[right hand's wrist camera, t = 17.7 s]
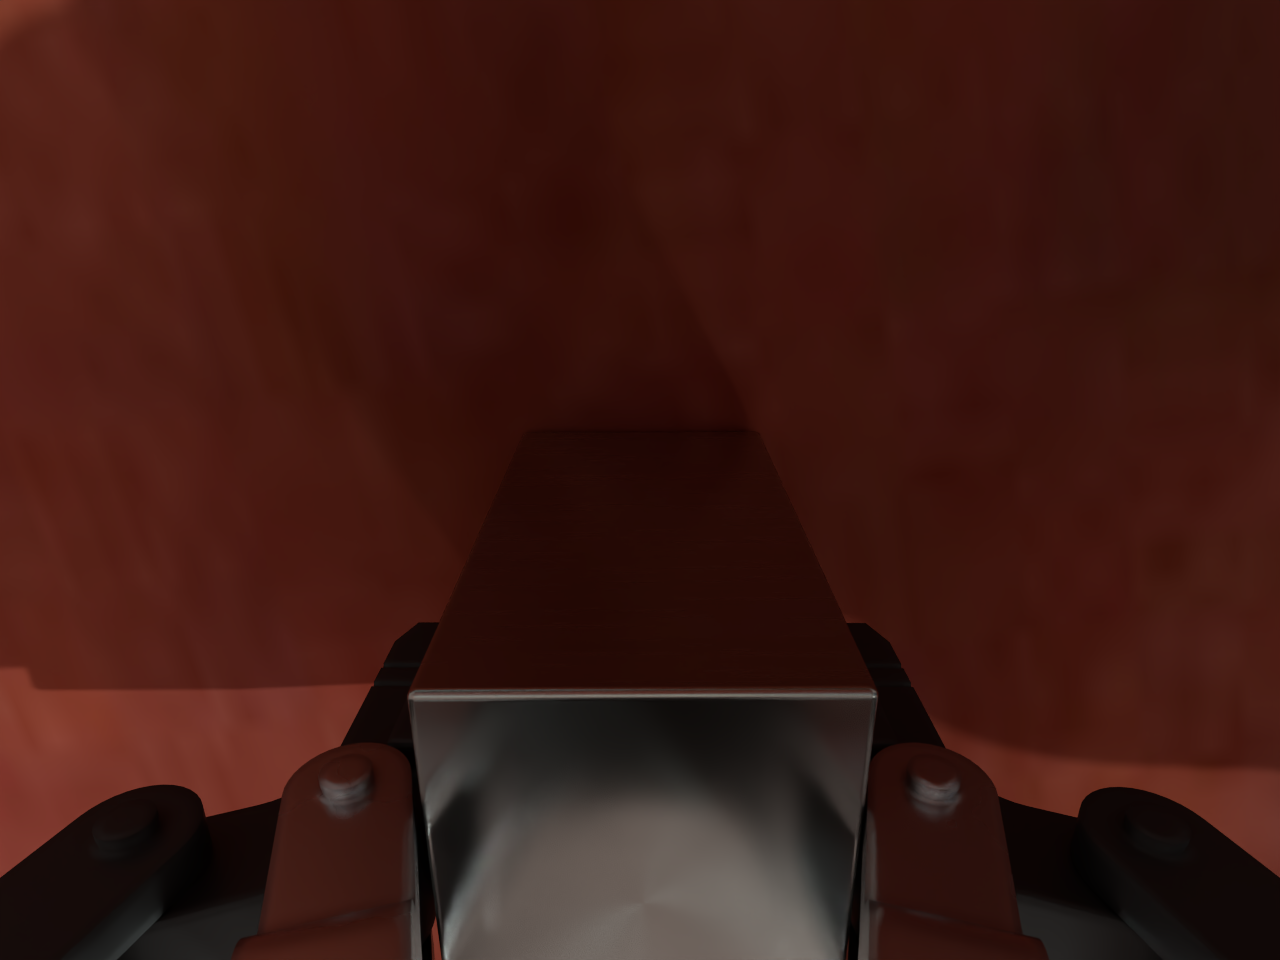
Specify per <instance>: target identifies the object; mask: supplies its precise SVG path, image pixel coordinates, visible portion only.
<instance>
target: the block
mask: <svg viewBox="0 0 1280 960" xmlns="http://www.w3.org/2000/svg"><path fill="white" fill-rule="evenodd" d="M407 700H408V707H409V715H410V723H411V730H412V738H413V745H414V753H415V760H416V768H417V776H418V783H419V791H420V798H421V806H422V814H423V821H424V829H425V836H426V844H427V851H428V859H429V867H430V874H431V882H432V889H433V897H434V905H435V912H436V920H437V927H438V935H439V943H440V950H441V958H442V960H846V955H847V947H848V939H849V931H850V922H851V914H852V906H853V898H854V890H855V882H856V873H857V865H858V857H859V849H860V841H861V833H862V824H863V816H864V808H865V800H866V792H867V784H868V775H869V767H870V759H871V751H872V743H873V734H874V726H875V718H876V710H877V702H878V691H877V688H876V686H875V684H874V682H873V679H872V677H871V675H870V673H869V671H868V669H867V666H866V664H865V662H864V660H863V658H862V656H861V653H860V651H859V649H858V647H857V645H856V643H855V640H854V638H853V636H852V634H851V632H850V630H849V627H848V625H847V623H846V621H845V619H844V617H843V614H842V612H841V610H840V608H839V606H838V604H837V601H836V599H835V597H834V595H833V593H832V591H831V588H830V586H829V584H828V582H827V580H826V578H825V575H824V573H823V571H822V569H821V567H820V565H819V562H818V560H817V558H816V556H815V554H814V552H813V550H812V547H811V545H810V543H809V541H808V539H807V537H806V534H805V532H804V530H803V528H802V526H801V524H800V521H799V519H798V517H797V515H796V513H795V511H794V508H793V506H792V504H791V502H790V500H789V498H788V495H787V493H786V491H785V489H784V487H783V485H782V482H781V480H780V478H779V476H778V474H777V472H776V469H775V467H774V465H773V463H772V461H771V459H770V456H769V454H768V452H767V450H766V448H765V446H764V443H763V441H762V439H761V437H760V435H759V433H757V432H582V433H525V434H523V436H522V439H521V441H520V443H519V445H518V447H517V450H516V452H515V454H514V456H513V459H512V461H511V463H510V465H509V468H508V470H507V472H506V474H505V477H504V479H503V481H502V483H501V486H500V488H499V490H498V492H497V494H496V497H495V499H494V501H493V503H492V506H491V508H490V510H489V512H488V515H487V517H486V519H485V521H484V524H483V526H482V528H481V530H480V532H479V535H478V537H477V539H476V541H475V544H474V546H473V548H472V550H471V553H470V555H469V557H468V559H467V562H466V564H465V566H464V568H463V570H462V573H461V575H460V577H459V579H458V582H457V584H456V586H455V588H454V591H453V593H452V595H451V597H450V600H449V602H448V604H447V606H446V608H445V611H444V613H443V615H442V617H441V620H440V622H439V624H438V626H437V629H436V631H435V633H434V635H433V638H432V640H431V642H430V644H429V647H428V649H427V651H426V653H425V655H424V658H423V660H422V662H421V664H420V667H419V669H418V671H417V673H416V676H415V678H414V680H413V682H412V685H411V687H410V689H409V692H408V694H407Z"/></svg>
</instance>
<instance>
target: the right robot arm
mask: <svg viewBox="0 0 1280 960" xmlns="http://www.w3.org/2000/svg"><path fill="white" fill-rule="evenodd" d="M438 624H439V623H418V624H416V625H415V626H414V627H413V628H411V629H410V630H409V631H408V632H406V633H405V634H404V635H403V636H401V637H400V638H399V639H398V640H396V641H395V643H394V645H393V647H392V648H391V650H390V652H389V654H388V656H387V658H386V660H385V662H384V667H383V668H381V670H380V671H379V673H378V675H377V677H376V679H375V681H374V686H372V687H371V689H370V691H369V693H368V694H367V696H366V698H365V700H364V702H363V704H362V706H361V708H360V710H359V712H358V714H357V716H356V717H355V719H354V721H353V723H352V725H351V727H350V729H349V731H348V733H347V735H346V737H345V739H344V740H343V742H342V744H341V746H340V747H337V748H334V749H331V750H328V751H326V752H324V753H322V754H320V755H318V756H316V757H314V758H313V759H311V760H309V761H308V762H307V763H305V764H304V765H303V766H301V767H300V768H299V769H298V770H297V771H296V772H295V773H294V774H293V775H292V777H291V778H290V779H289V780H288V782H287V784H286V786H285V788H284V791H283V794H282V798H279V799H277V800H274V801H271V802H268V803H264V804H261V805H257V806H252V807H248V808H244V809H240V810H235V811H231V812H227V813H222V814H218V815H214V816H209V817H206V816H205V812H204V808H203V805H202V802H201V799H200V798H199V797H198V795H197V794H196V793H194V792H193V791H192V790H190V789H187V788H185V787H181V786H176V785H154V786H147V787H142V788H138V789H134V790H131V791H127V792H125V793H122V794H119V795H117V796H114V797H112V798H110V799H108V800H106V801H104V802H102V803H100V804H98V805H96V806H95V807H93V808H91V809H90V810H88V811H87V812H85V813H84V814H82V815H81V816H80V817H78V818H77V819H76V820H74V821H73V822H72V823H71V824H69V825H68V826H67V827H65V828H64V829H63V830H61V831H60V832H59V833H58V834H56V835H55V836H54V837H52V838H51V839H50V840H49V841H47V842H46V843H45V844H43V845H42V846H41V847H39V848H38V849H37V850H36V851H34V852H33V853H32V854H30V855H29V856H28V857H27V858H25V859H24V860H23V861H21V862H20V863H19V864H17V865H16V866H15V867H14V868H12V869H11V870H10V871H8V872H7V873H6V874H5V875H3V876H2V877H1V878H0V960H434V943H433V935H432V927H433V924H434V921H435V917H436V912H435V905H434V897H433V889H432V882H431V874H430V867H429V859H428V851H427V844H426V836H425V829H424V821H423V814H422V806H421V798H420V791H419V783H418V776H417V768H416V760H415V753H414V745H413V738H412V730H411V723H410V715H409V707H408V700H407V694H408V692H409V689H410V687H411V685H412V682H413V680H414V678H415V676H416V673H417V671H418V669H419V667H420V664H421V662H422V660H423V658H424V655H425V653H426V651H427V649H428V647H429V644H430V642H431V640H432V638H433V635H434V633H435V631H436V629H437V626H438ZM847 625H848V627H849V630H850V632H851V634H852V636H853V638H854V640H855V643H856V645H857V647H858V649H859V651H860V653H861V656H862V658H863V660H864V662H865V664H866V666H867V669H868V671H869V673H870V675H871V677H872V679H873V682H874V684H875V686H876V688H877V691H878V702H877V710H876V718H875V726H874V734H873V743H872V751H871V759H870V767H869V775H868V784H867V792H866V800H865V808H864V816H863V824H862V833H861V841H860V849H859V857H858V865H857V873H856V882H855V890H854V898H853V906H852V914H851V922H850V931H849V939H848V947H847V955H846V960H1280V878H1279V877H1278V876H1277V875H1275V874H1274V873H1273V872H1272V871H1270V870H1269V869H1268V868H1266V867H1265V866H1264V865H1263V864H1261V863H1260V862H1259V861H1257V860H1256V859H1255V858H1253V857H1252V856H1251V855H1250V854H1248V853H1247V852H1246V851H1244V850H1243V849H1242V848H1241V847H1239V846H1238V845H1237V844H1235V843H1234V842H1233V841H1232V840H1230V839H1229V838H1228V837H1226V836H1225V835H1224V834H1222V833H1221V832H1220V831H1219V830H1217V829H1216V828H1215V827H1213V826H1212V825H1211V824H1210V823H1208V822H1207V821H1206V820H1204V819H1203V818H1201V817H1200V816H1199V815H1197V814H1196V813H1194V812H1193V811H1191V810H1189V809H1188V808H1186V807H1184V806H1183V805H1181V804H1179V803H1176V802H1174V801H1172V800H1170V799H1168V798H1165V797H1163V796H1160V795H1157V794H1154V793H1151V792H1147V791H1144V790H1139V789H1134V788H1125V787H1109V788H1103V789H1099V790H1096V791H1094V792H1092V793H1090V794H1089V795H1088V796H1086V797H1085V799H1084V800H1083V801H1082V804H1081V807H1080V810H1079V814H1078V818H1076V817H1072V816H1068V815H1063V814H1059V813H1055V812H1050V811H1046V810H1042V809H1037V808H1033V807H1029V806H1025V805H1021V804H1018V803H1014V802H1012V801H1009V800H1006V799H1004V798H1001V797H999V796H998V794H997V791H996V788H995V786H994V784H993V782H992V780H991V779H990V778H989V777H988V775H987V774H986V773H985V772H984V771H983V770H982V769H981V768H980V767H979V766H977V765H976V764H975V763H973V762H972V761H971V760H969V759H967V758H966V757H964V756H962V755H960V754H958V753H956V752H954V751H952V750H949V749H946V748H945V746H944V744H943V742H942V740H941V739H940V737H939V735H938V733H937V731H936V729H935V727H934V725H933V724H932V722H931V720H930V718H929V716H928V714H927V712H926V710H925V708H924V707H923V705H922V703H921V701H920V699H919V697H918V695H917V693H916V691H915V690H914V688H913V687H911V682H910V680H909V678H908V676H907V675H906V673H905V671H904V669H901V663H900V661H899V659H898V658H897V656H896V654H895V652H894V650H893V648H892V646H891V644H890V642H889V641H887V640H886V639H885V638H883V637H882V636H881V635H880V634H878V633H877V632H876V631H875V630H873V629H872V628H871V627H870V626H868V625H867V624H866V623H847Z"/></svg>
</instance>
